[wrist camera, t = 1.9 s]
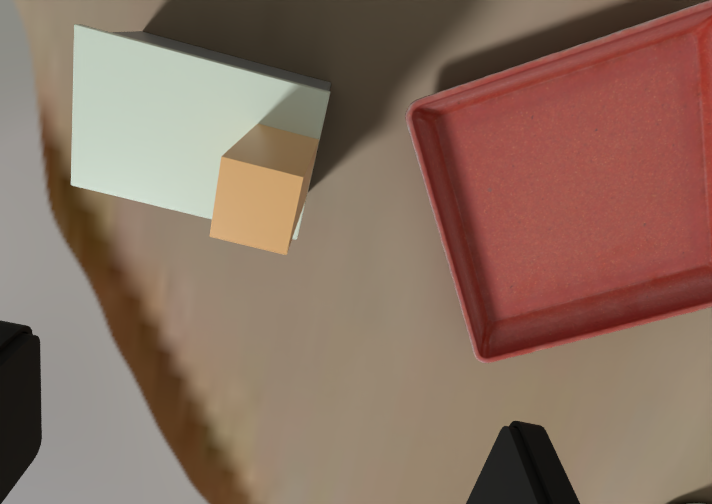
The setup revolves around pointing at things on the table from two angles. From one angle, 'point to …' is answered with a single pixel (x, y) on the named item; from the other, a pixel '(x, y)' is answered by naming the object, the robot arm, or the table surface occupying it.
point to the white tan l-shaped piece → (194, 136)
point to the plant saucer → (576, 186)
